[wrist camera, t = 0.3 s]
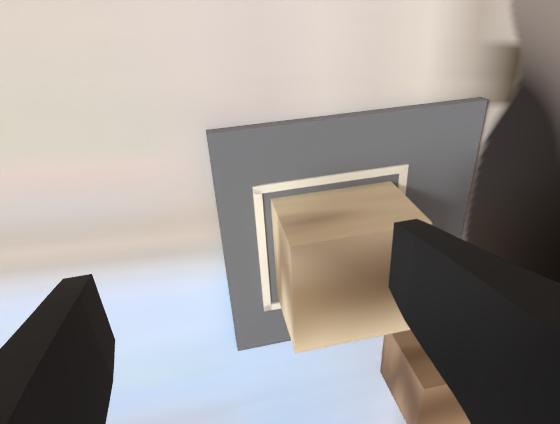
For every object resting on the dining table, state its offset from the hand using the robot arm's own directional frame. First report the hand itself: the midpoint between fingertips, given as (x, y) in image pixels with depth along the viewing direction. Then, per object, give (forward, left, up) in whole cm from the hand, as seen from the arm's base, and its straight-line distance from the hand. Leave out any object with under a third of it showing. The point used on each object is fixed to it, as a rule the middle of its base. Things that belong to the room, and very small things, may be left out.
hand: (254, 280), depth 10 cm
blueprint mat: (-6, -6, -10) cm, 13 cm away
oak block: (-6, -5, -9) cm, 12 cm away
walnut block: (-15, -11, -10) cm, 21 cm away
